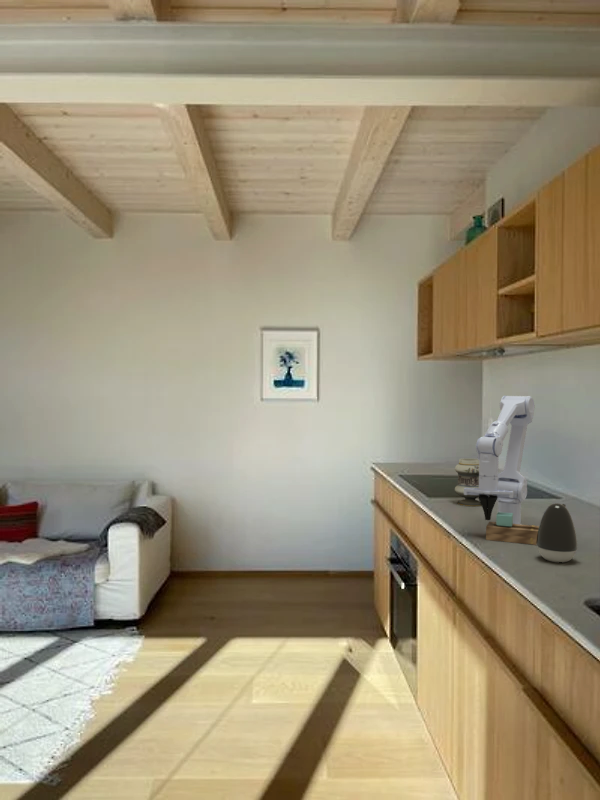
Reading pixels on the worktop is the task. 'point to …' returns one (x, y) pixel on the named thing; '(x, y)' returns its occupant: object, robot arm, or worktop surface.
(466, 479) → the apothecary jar
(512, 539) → the slotted wooden block
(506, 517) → the block
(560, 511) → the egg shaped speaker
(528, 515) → the worktop surface
